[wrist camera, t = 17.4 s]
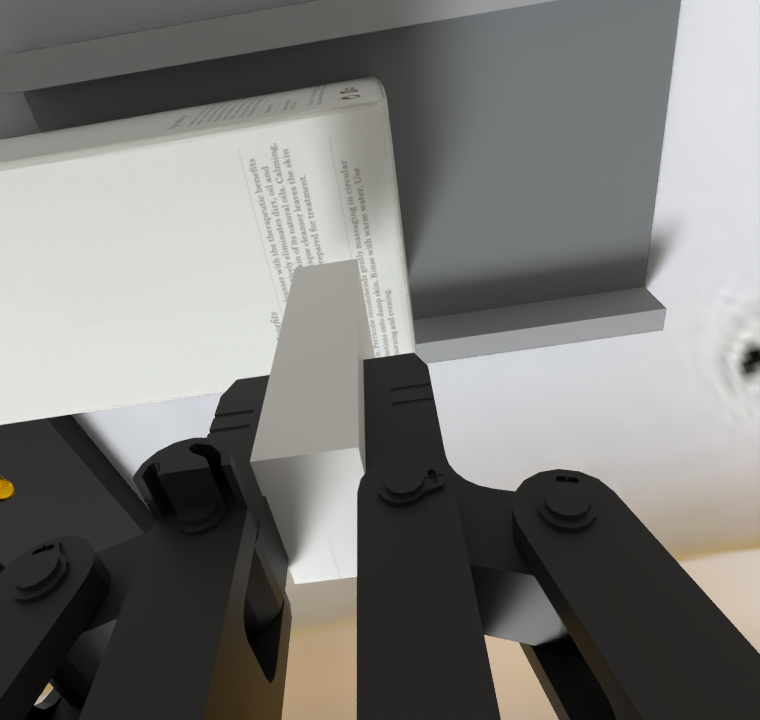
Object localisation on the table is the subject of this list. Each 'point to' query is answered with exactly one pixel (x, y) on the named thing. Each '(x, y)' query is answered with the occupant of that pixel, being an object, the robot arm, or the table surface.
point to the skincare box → (189, 244)
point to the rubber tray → (445, 141)
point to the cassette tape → (62, 489)
